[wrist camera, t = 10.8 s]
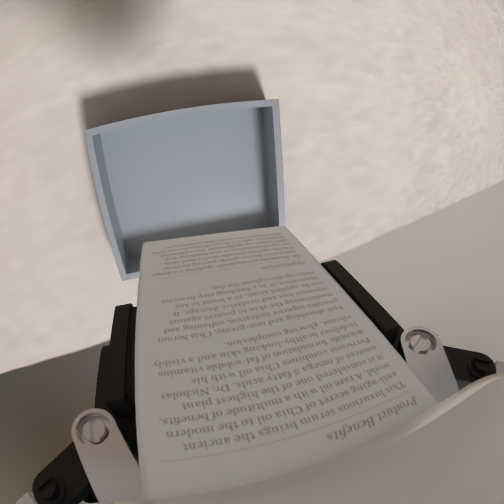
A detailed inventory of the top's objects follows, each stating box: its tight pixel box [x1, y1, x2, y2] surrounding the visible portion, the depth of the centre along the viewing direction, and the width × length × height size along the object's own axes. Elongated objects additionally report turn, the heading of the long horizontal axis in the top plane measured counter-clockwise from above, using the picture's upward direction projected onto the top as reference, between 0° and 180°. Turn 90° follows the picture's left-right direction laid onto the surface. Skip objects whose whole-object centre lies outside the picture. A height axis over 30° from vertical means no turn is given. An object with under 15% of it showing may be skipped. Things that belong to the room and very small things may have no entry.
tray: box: [84, 99, 285, 281], centre depth 26 cm, size 16×14×4 cm
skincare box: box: [135, 226, 439, 500], centre depth 8 cm, size 6×4×12 cm
